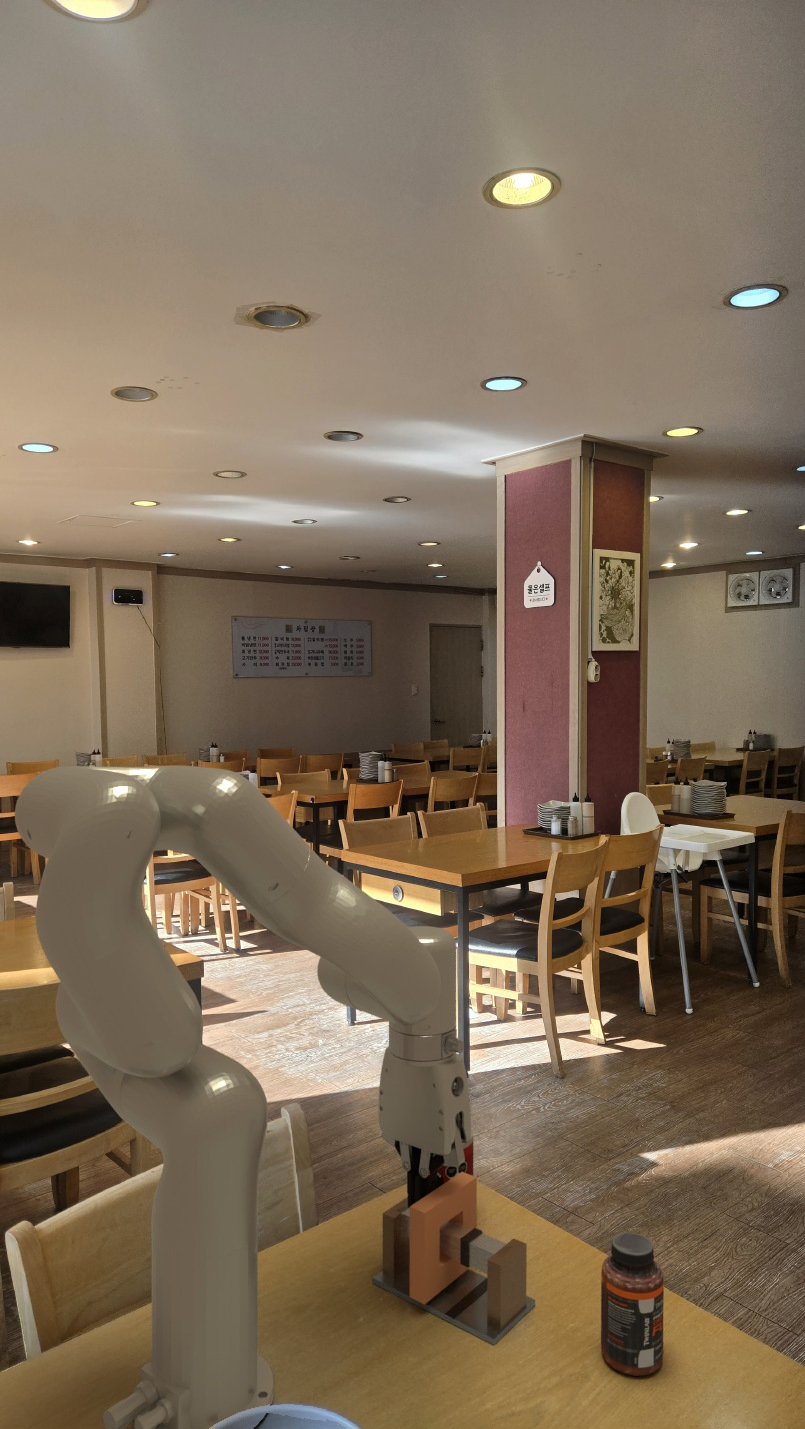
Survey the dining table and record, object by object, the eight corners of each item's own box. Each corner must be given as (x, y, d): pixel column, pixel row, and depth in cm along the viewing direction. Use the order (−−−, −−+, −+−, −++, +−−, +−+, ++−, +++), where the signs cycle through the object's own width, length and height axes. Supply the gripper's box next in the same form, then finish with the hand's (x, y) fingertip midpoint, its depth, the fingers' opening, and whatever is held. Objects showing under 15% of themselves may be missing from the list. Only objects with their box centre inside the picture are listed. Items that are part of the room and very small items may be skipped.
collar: (409, 1296, 99) (409, 1206, 99) (461, 1255, 106) (462, 1171, 106) (424, 1304, 97) (424, 1213, 97) (476, 1262, 105) (476, 1177, 105)
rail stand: (372, 1282, 103) (372, 1216, 103) (416, 1250, 109) (417, 1187, 109) (494, 1345, 93) (494, 1271, 93) (535, 1305, 99) (535, 1236, 99)
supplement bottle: (665, 1384, 88) (666, 1264, 88) (601, 1374, 89) (601, 1256, 89) (661, 1341, 94) (661, 1229, 94) (600, 1333, 95) (601, 1223, 95)
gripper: (497, 1046, 102) (497, 1213, 102) (391, 1018, 111) (390, 1171, 111) (458, 1067, 96) (458, 1244, 96) (349, 1035, 105) (349, 1197, 105)
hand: (421, 1204), depth 104 cm, fingers closed
